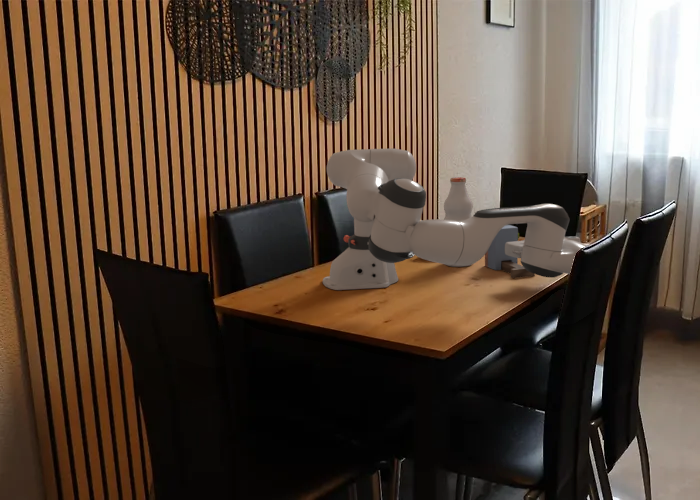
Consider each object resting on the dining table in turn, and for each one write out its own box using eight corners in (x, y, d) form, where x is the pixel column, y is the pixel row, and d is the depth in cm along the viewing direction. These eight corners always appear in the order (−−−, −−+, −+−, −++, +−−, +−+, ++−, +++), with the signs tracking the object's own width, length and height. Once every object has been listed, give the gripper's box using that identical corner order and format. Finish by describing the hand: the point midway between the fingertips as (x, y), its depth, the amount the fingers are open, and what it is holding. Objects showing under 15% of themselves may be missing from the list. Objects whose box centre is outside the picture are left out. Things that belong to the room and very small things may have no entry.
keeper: (495, 270, 217) (495, 229, 214) (487, 266, 222) (488, 226, 219) (517, 267, 219) (517, 227, 216) (509, 264, 224) (509, 225, 221)
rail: (513, 278, 207) (513, 254, 206) (484, 265, 224) (485, 244, 223) (534, 275, 209) (534, 252, 207) (504, 263, 226) (504, 242, 225)
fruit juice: (461, 259, 234) (461, 175, 229) (479, 264, 226) (479, 177, 220) (438, 263, 230) (437, 178, 224) (455, 268, 222) (454, 180, 216)
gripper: (518, 265, 190) (494, 256, 203) (584, 259, 196) (556, 249, 209) (519, 243, 189) (494, 234, 202) (585, 236, 195) (556, 229, 208)
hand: (526, 242), depth 205 cm, fingers closed
